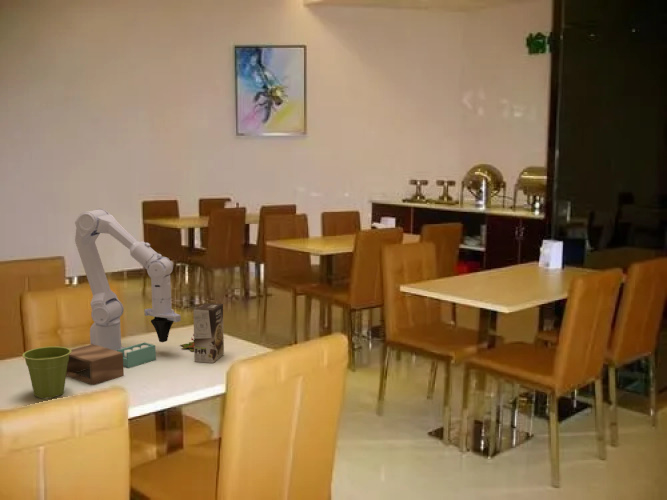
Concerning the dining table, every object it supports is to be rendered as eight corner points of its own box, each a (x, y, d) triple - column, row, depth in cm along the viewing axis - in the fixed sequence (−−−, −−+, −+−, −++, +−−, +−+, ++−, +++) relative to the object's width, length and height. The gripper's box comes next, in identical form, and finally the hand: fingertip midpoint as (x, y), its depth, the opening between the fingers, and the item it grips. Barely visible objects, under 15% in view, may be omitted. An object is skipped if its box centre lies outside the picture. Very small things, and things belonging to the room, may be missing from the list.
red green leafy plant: (172, 346, 237) (172, 332, 236) (206, 340, 244) (206, 327, 243) (188, 355, 227) (188, 341, 227) (223, 349, 234) (223, 335, 233)
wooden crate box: (63, 374, 208) (61, 352, 207) (93, 366, 215) (92, 344, 214) (93, 385, 199) (91, 361, 198) (123, 375, 207) (122, 352, 206)
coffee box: (214, 363, 218) (213, 310, 216) (193, 362, 220) (192, 309, 217) (224, 354, 227) (223, 303, 225) (205, 353, 228) (203, 302, 226)
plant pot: (78, 396, 191) (76, 354, 189) (30, 405, 184) (27, 362, 183) (67, 383, 200) (65, 343, 199) (21, 391, 194) (18, 350, 192)
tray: (117, 364, 217) (117, 349, 216) (145, 356, 225) (144, 342, 224) (128, 368, 214) (127, 353, 213) (155, 359, 222) (155, 345, 221)
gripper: (187, 298, 223) (189, 342, 225) (156, 292, 232) (158, 334, 234) (169, 303, 217) (171, 347, 220) (138, 296, 226) (140, 339, 228)
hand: (163, 341), depth 226 cm, fingers closed
